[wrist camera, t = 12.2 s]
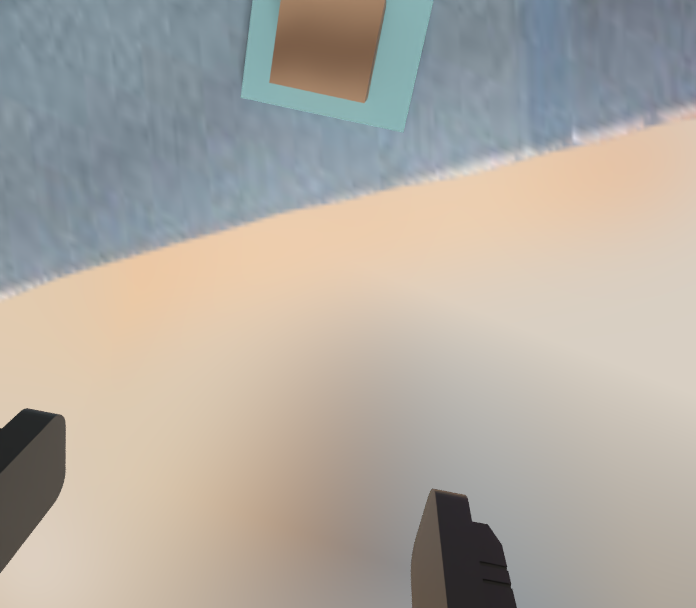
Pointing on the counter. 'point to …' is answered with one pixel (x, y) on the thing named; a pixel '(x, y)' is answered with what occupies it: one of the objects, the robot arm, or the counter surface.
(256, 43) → the teal mat
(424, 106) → the counter surface
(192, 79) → the counter surface
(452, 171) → the counter surface
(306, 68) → the walnut block
